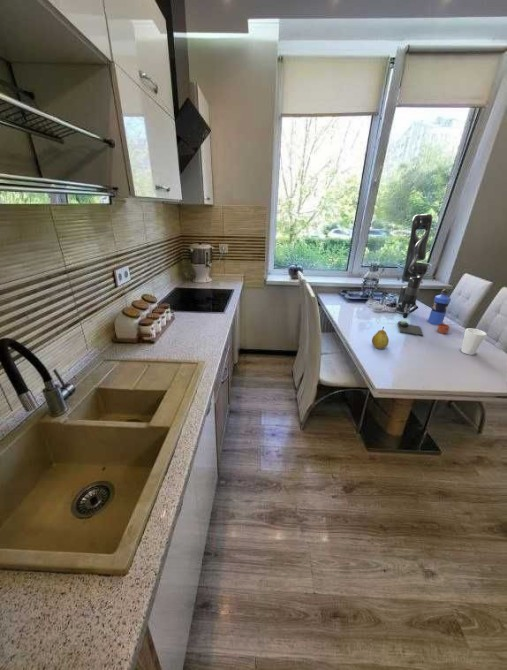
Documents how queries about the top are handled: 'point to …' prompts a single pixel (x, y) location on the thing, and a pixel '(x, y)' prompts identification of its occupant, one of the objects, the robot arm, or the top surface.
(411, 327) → the scale
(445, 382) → the top surface
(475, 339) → the foam cup
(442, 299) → the water bottle
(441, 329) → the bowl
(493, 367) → the top surface
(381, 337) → the fruit
